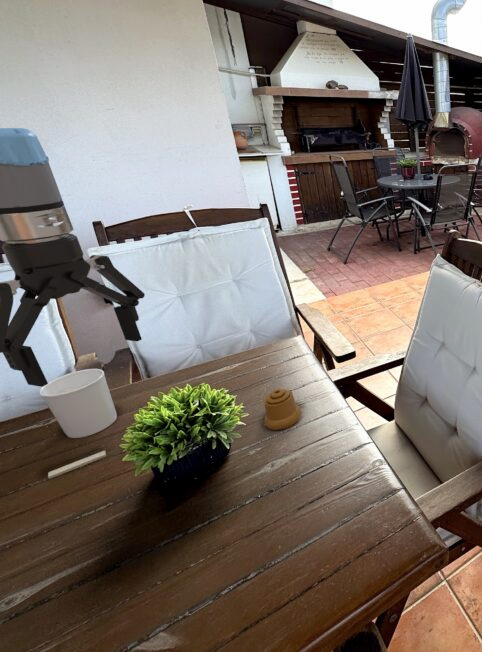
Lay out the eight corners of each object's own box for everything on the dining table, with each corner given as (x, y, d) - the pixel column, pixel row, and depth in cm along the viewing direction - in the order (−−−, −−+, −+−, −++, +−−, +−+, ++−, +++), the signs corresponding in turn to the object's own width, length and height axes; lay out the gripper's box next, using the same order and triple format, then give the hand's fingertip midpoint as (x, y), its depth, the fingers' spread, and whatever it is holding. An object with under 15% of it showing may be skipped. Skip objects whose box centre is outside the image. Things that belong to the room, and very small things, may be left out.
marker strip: (49, 479, 77) (47, 477, 77) (49, 474, 78) (48, 472, 78) (106, 456, 82) (105, 454, 82) (105, 452, 84) (104, 450, 83)
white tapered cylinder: (60, 427, 90) (38, 382, 86) (118, 405, 97) (100, 363, 93) (63, 448, 85) (39, 402, 80) (125, 423, 92) (106, 379, 87)
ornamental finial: (273, 437, 88) (260, 421, 92) (307, 419, 93) (294, 405, 97) (265, 407, 85) (252, 393, 89) (301, 390, 90) (287, 378, 95)
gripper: (-72, 266, 47) (6, 412, 54) (146, 220, 70) (180, 327, 77) (-117, 262, 48) (-35, 405, 56) (112, 218, 71) (148, 323, 79)
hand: (90, 360), depth 67 cm, fingers open, 13 cm apart
